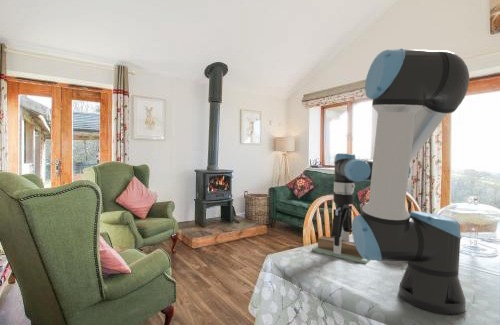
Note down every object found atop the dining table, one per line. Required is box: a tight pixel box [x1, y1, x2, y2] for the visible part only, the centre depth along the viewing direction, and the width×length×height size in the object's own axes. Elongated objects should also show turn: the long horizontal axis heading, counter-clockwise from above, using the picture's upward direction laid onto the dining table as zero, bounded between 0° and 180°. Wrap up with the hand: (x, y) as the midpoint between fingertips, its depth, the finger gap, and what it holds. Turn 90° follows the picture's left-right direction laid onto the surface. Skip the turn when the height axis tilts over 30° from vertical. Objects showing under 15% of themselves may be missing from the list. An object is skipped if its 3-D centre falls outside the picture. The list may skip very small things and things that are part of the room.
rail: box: [317, 235, 363, 258], centre depth 112 cm, size 4×18×4 cm, turn 53°
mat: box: [311, 244, 371, 265], centre depth 112 cm, size 8×21×1 cm, turn 52°
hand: (341, 250), depth 112 cm, fingers open, 8 cm apart
